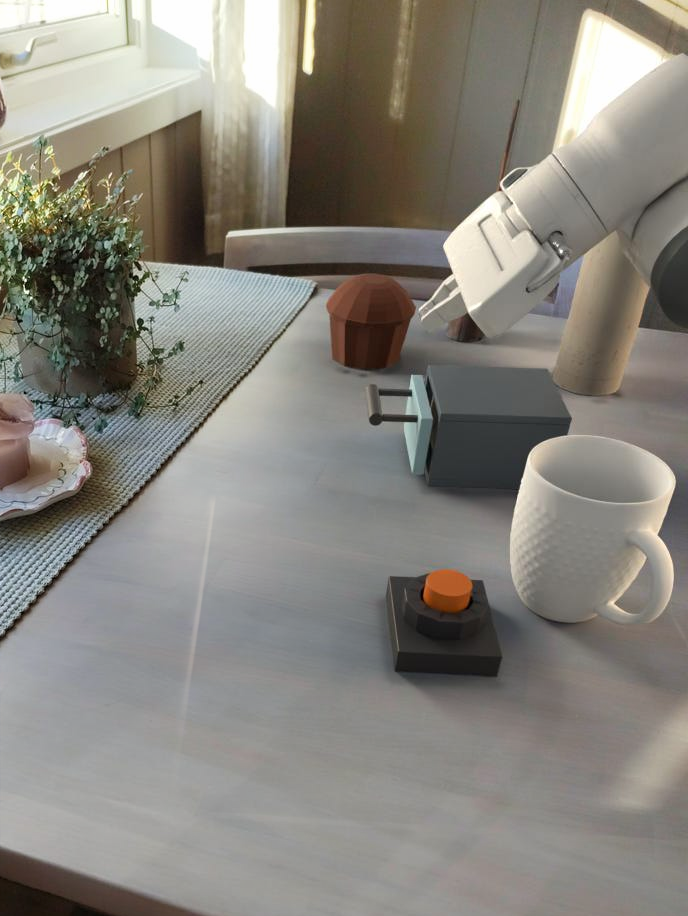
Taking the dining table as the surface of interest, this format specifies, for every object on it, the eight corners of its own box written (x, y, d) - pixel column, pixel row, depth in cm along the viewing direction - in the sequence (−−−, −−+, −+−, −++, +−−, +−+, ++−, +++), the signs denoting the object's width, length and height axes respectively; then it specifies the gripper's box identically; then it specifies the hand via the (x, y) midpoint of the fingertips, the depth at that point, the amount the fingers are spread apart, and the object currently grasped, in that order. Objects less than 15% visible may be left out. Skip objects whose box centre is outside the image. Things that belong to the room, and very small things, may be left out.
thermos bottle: (613, 370, 114) (688, 121, 96) (625, 398, 108) (708, 137, 90) (548, 367, 115) (611, 119, 97) (556, 393, 109) (625, 135, 91)
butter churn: (484, 358, 117) (534, 114, 99) (418, 341, 122) (454, 104, 104) (512, 336, 123) (564, 101, 105) (448, 320, 127) (487, 93, 109)
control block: (478, 600, 78) (487, 562, 75) (497, 677, 70) (508, 639, 68) (385, 595, 78) (391, 558, 76) (394, 672, 71) (401, 633, 68)
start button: (465, 587, 73) (469, 570, 72) (471, 614, 71) (475, 597, 69) (420, 585, 74) (424, 568, 72) (425, 612, 71) (428, 595, 70)
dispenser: (427, 485, 93) (440, 413, 87) (416, 433, 102) (428, 364, 96) (551, 490, 92) (572, 417, 87) (530, 437, 101) (547, 368, 96)
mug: (689, 648, 73) (752, 511, 65) (582, 685, 70) (634, 546, 61) (565, 552, 83) (606, 423, 75) (467, 580, 80) (498, 449, 72)
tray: (364, 472, 93) (371, 416, 89) (359, 426, 101) (365, 373, 97) (525, 478, 92) (539, 422, 88) (507, 431, 100) (519, 377, 96)
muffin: (312, 342, 122) (318, 266, 115) (390, 336, 123) (400, 260, 117) (337, 378, 113) (345, 298, 106) (421, 371, 114) (433, 292, 108)
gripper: (597, 284, 74) (456, 391, 81) (546, 214, 90) (431, 308, 97) (556, 226, 72) (414, 341, 78) (510, 164, 87) (395, 264, 94)
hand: (423, 322), depth 88 cm, fingers closed
